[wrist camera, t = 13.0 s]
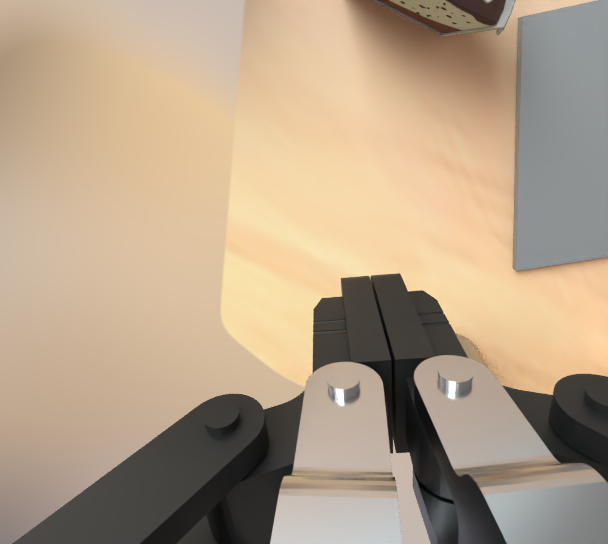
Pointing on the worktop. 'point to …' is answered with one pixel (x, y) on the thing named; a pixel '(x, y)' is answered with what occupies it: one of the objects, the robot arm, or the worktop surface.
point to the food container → (454, 14)
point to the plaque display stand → (561, 137)
